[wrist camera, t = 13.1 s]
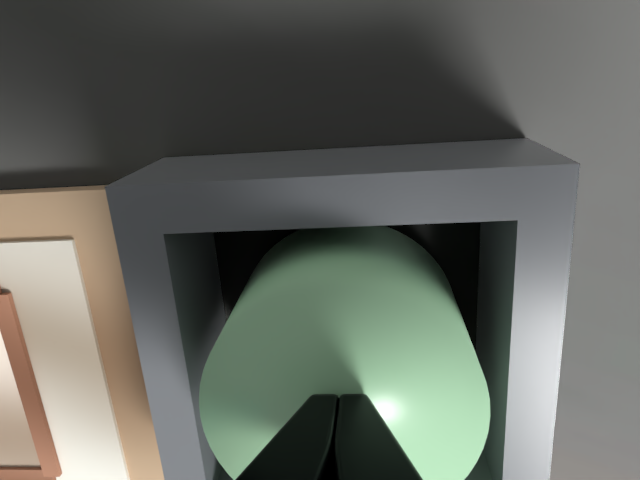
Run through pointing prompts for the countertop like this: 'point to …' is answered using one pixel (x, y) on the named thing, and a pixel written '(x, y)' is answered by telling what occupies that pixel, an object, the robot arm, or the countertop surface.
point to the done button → (348, 349)
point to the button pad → (353, 211)
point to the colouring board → (68, 344)
